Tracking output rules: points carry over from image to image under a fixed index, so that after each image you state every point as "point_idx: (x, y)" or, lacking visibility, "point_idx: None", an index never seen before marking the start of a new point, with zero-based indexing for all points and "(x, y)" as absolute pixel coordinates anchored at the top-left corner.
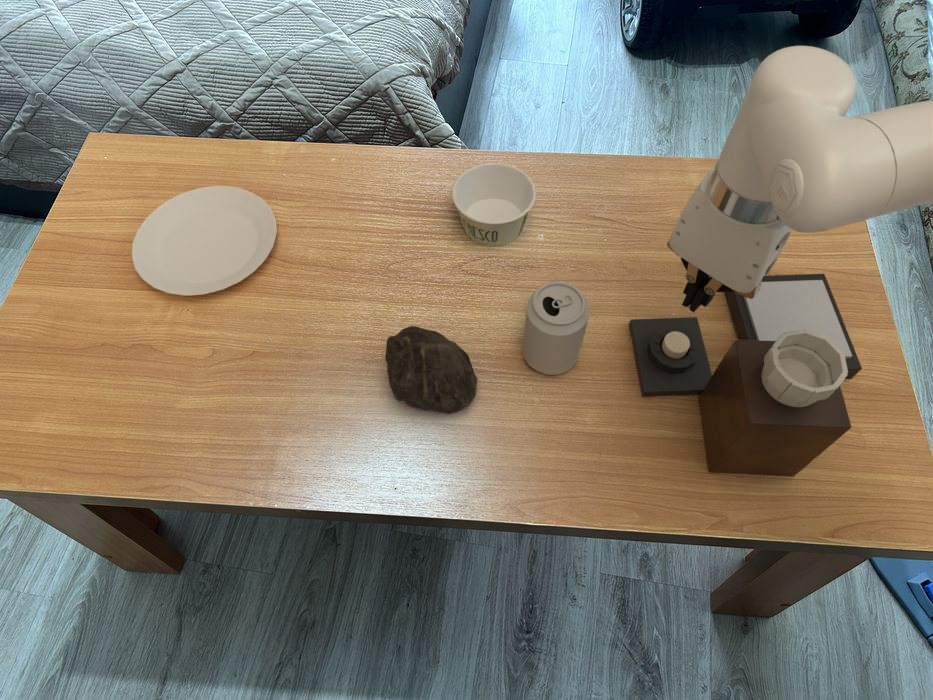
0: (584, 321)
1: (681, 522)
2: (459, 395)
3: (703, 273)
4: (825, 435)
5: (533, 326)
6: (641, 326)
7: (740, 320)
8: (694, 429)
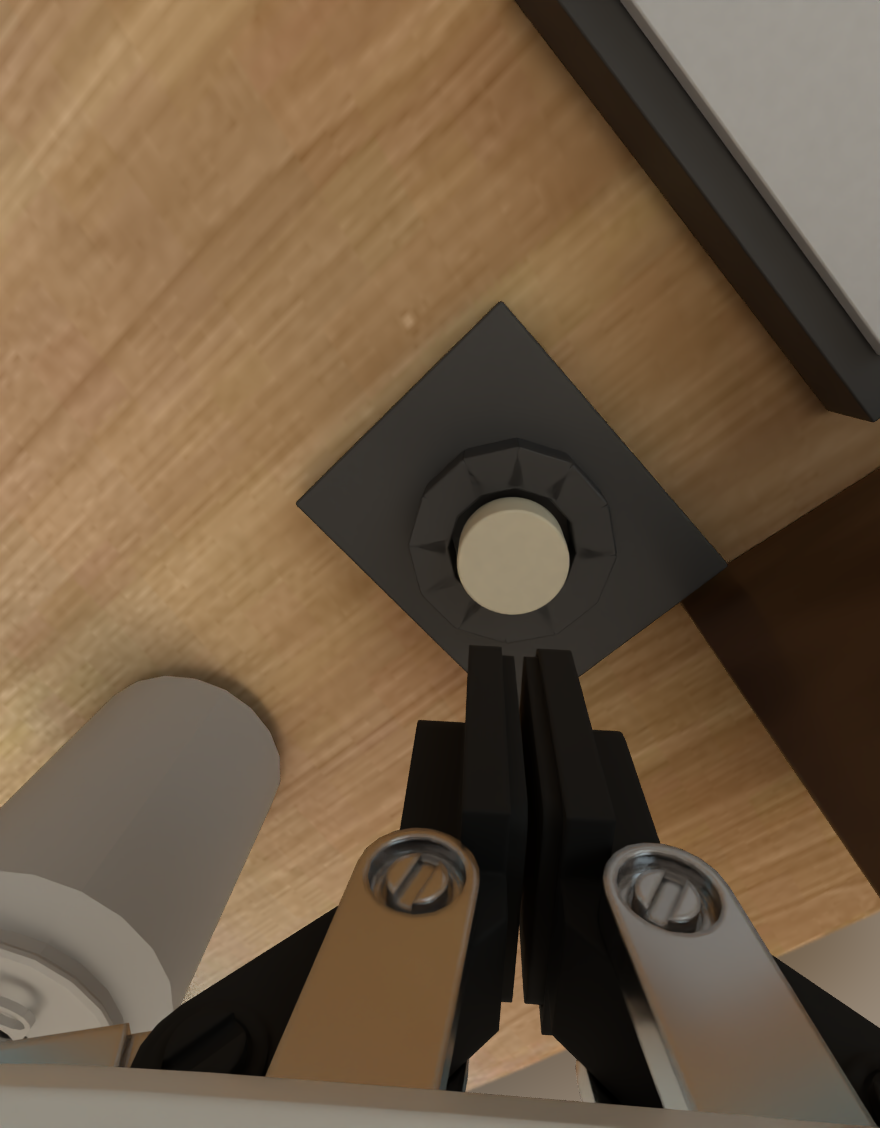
0: (155, 983)
1: (802, 930)
2: None
3: (480, 996)
4: None
5: None
6: (348, 504)
7: (685, 185)
8: (717, 697)
